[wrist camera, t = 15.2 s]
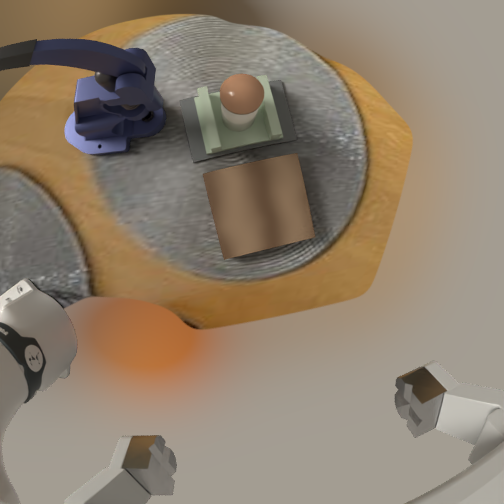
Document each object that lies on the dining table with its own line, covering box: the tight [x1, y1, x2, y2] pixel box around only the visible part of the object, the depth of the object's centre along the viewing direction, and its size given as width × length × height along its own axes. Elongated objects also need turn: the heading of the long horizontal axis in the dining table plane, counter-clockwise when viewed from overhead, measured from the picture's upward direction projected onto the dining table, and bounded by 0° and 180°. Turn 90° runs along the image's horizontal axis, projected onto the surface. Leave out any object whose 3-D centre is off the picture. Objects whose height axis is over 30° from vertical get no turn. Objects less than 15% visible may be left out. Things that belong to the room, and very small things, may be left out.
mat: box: [180, 80, 297, 163], centre depth 36 cm, size 14×9×1 cm, turn 103°
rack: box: [194, 75, 283, 155], centre depth 33 cm, size 10×8×4 cm
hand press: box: [0, 39, 166, 155], centre depth 21 cm, size 19×9×28 cm, turn 90°
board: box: [203, 153, 315, 260], centre depth 37 cm, size 12×11×2 cm
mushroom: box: [220, 74, 264, 132], centre depth 30 cm, size 4×4×9 cm
